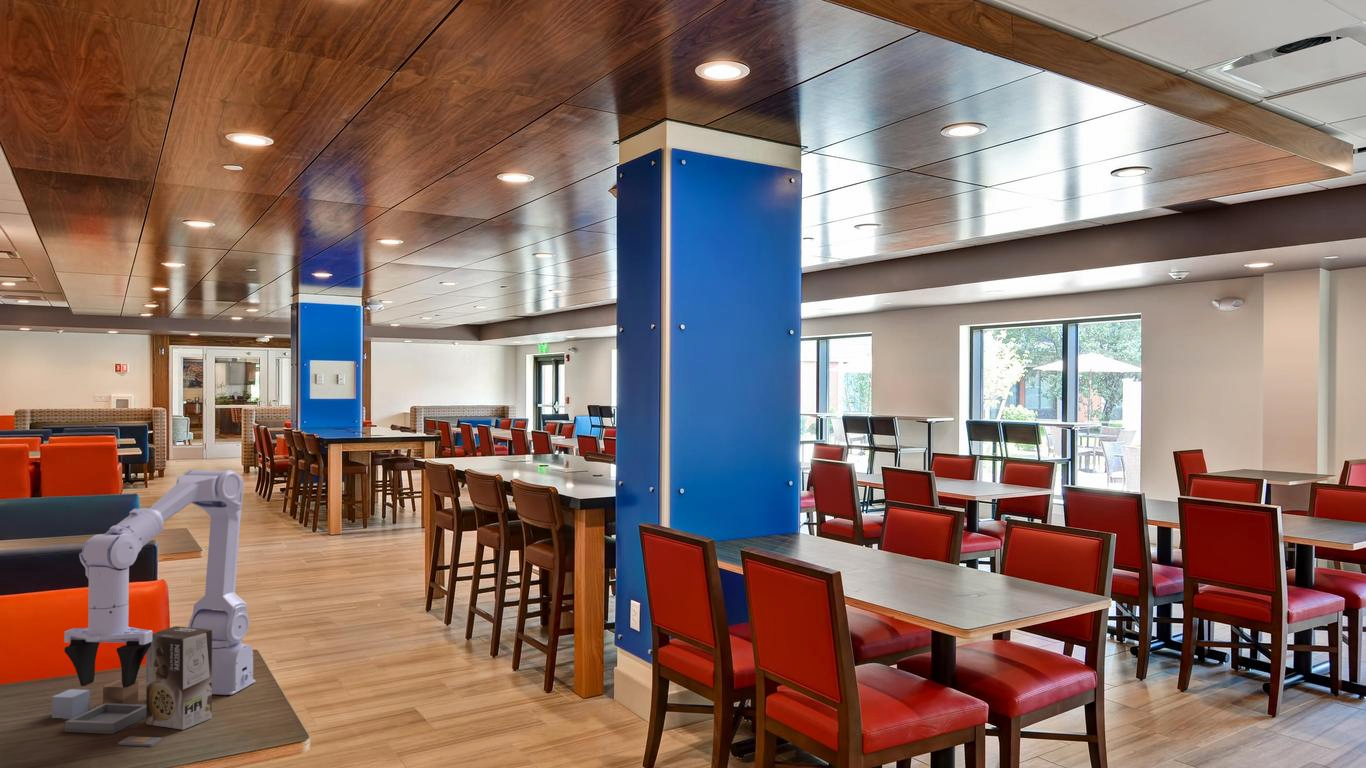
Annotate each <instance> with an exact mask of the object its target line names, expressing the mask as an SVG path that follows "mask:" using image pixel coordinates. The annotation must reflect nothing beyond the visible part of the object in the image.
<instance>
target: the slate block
mask: <svg viewBox="0 0 1366 768" xmlns="http://www.w3.org/2000/svg"><path fill="white" fill-rule="evenodd" d="M90 696H91V690H90V689H76V688H75V689H71V688H70V689H67V690H65V691H63V692H60V693H58V694H55V695H53V696H52V697H51V719H53V718H63V719H62V720H70V719H72V718H74V717H76V716H78V715H81V714H83V713H85V712H87V711H89V710H91V709H90V708H91V705H90V702H91V701H90V699H91V697H90Z"/></svg>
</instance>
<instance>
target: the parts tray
mask: <svg viewBox="0 0 1366 768" xmlns="http://www.w3.org/2000/svg"><path fill="white" fill-rule="evenodd" d="M145 718H146V704H137V703H135V704H134V703H132V704H115V703H104V704H103V703H102V704H99V705H98V706H95V707H93V708H91V709H90V710H89V711H87V712H85V713H83V714H81V715H78V716H76V717H74V718H72V719H67V720H65V722H64V725H65V726H64V732H68V733H88V734H89V733H90V734H111V735H112V734H116V733H117V732H119V731H121V730H123V729H125V728H127V727H129V726H131V725H133V724H134V723H136V722H138V721H140V720H142V719H145Z"/></svg>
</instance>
